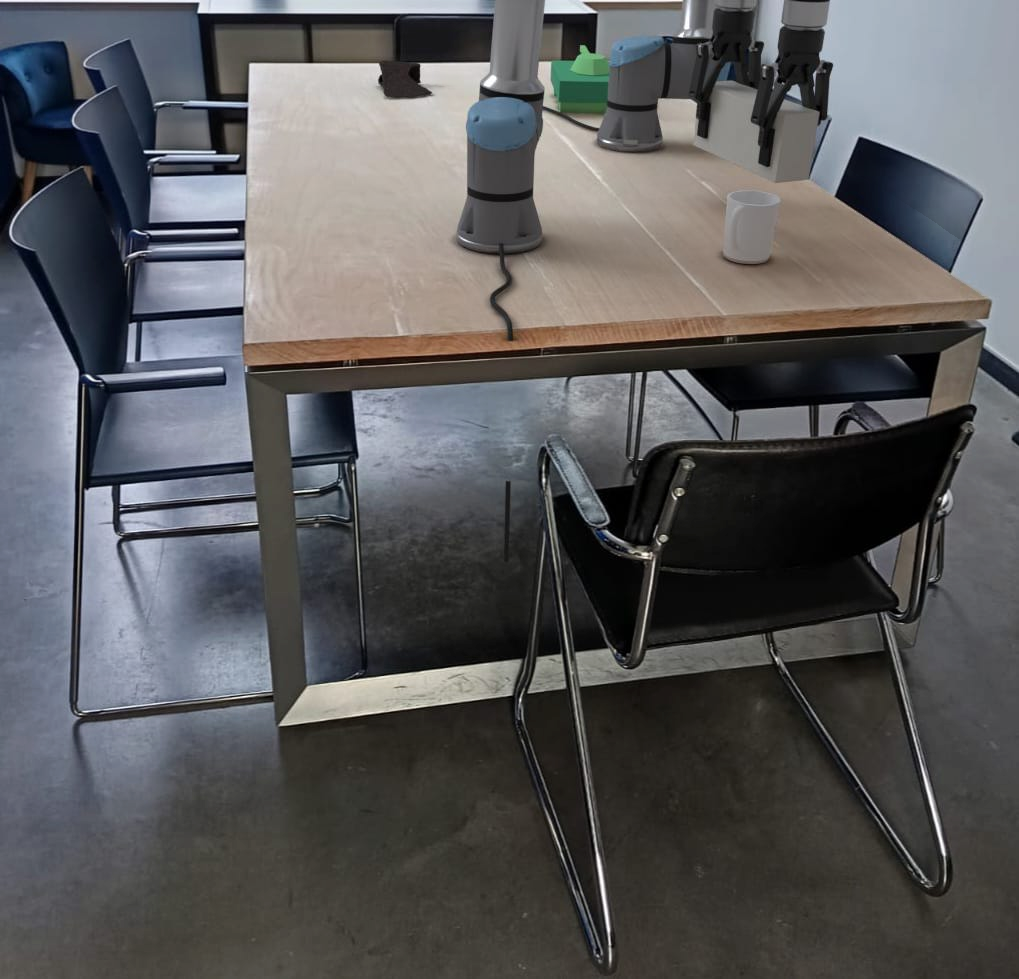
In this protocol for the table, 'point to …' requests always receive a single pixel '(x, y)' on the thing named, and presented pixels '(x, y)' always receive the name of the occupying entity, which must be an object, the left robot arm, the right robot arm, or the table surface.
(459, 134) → the table surface
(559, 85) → the toy tank
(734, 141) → the box
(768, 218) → the mug
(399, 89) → the axe head
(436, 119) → the table surface
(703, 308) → the table surface
